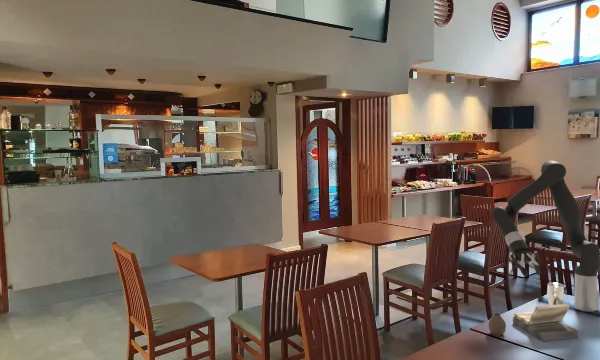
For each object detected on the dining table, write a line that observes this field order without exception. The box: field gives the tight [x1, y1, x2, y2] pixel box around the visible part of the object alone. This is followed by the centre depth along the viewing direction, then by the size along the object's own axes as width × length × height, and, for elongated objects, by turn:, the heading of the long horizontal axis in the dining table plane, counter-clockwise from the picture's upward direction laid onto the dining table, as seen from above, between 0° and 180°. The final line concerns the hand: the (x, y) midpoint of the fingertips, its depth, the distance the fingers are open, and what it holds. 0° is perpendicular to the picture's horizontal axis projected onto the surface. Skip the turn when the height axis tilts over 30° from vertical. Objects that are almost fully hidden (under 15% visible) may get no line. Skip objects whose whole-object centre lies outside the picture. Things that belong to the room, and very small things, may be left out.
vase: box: [488, 312, 507, 337], centre depth 196 cm, size 7×7×9 cm
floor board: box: [512, 311, 579, 342], centre depth 198 cm, size 20×16×4 cm
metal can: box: [546, 282, 565, 305], centre depth 213 cm, size 7×7×15 cm
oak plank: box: [529, 303, 571, 324], centre depth 195 cm, size 10×15×2 cm
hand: (533, 274), depth 205 cm, fingers open, 6 cm apart
